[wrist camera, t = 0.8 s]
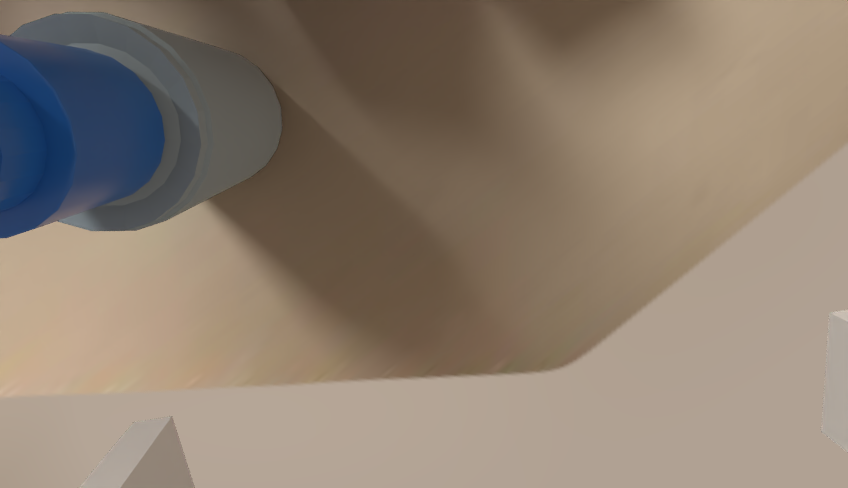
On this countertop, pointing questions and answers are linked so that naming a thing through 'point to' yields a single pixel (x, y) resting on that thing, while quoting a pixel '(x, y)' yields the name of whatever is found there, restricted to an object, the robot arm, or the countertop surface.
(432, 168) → the countertop surface
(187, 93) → the spray bottle
